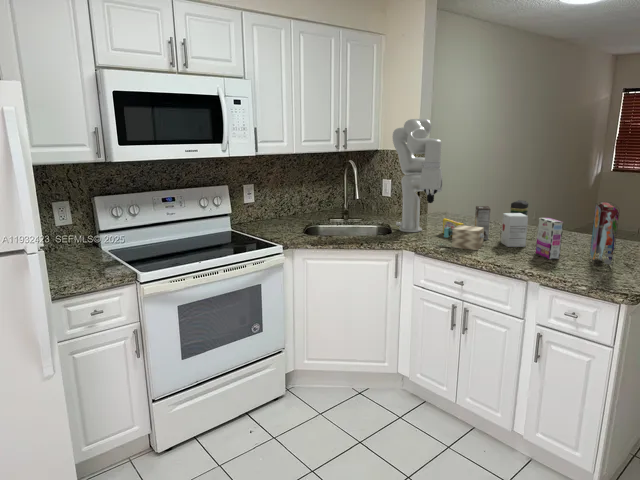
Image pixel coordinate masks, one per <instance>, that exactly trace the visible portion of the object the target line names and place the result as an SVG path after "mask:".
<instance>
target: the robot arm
mask: <svg viewBox="0 0 640 480" xmlns="http://www.w3.org/2000/svg"><path fill="white" fill-rule="evenodd" d="M431 131H432V124H431V121H430V120H429V119H427V118H410V119H408V120H407V121H405V122H404V124H403V126H402V127H397V128H396V129H394V130H393V132H392V143H393V147H394V149H395V152H396V153H397V156H398V159H399V164H400V170H401V173H402V174H404V175H403V176H402V178H401V181H400V182H401V191H402V192H401V193H402V216H401V217H402V219H401V221H396V222H395V225H396V226H397V227H399V229H398V230H399V231H400V232H404V233H419V232H421V231H422V230H423V229H422V227H421V226H420V212H421V210H420V209H421V199H420V197H419V195H418V194H417V192H424V193H425V194H426V197H427V198H426V202H427V204H432V203H434V202H435V195H436V194H437V193H440V192H442V191H443V171H442V168H441V156H442V141H441V139H437V138H433V137H431V138H427V137H428V136H429V134H430V133H431ZM423 154H424V156H422V157H421V156H420V157H419V156H418V157H416V156H415V155H423Z"/></svg>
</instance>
